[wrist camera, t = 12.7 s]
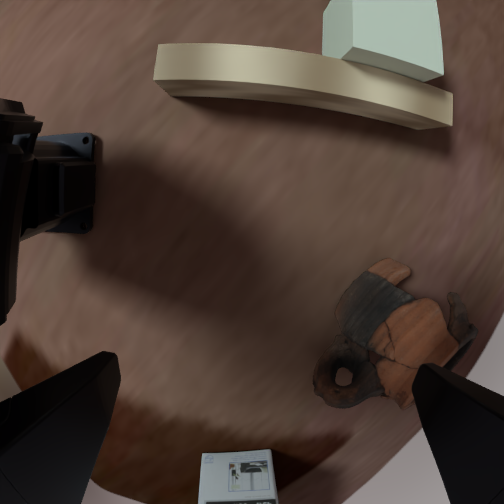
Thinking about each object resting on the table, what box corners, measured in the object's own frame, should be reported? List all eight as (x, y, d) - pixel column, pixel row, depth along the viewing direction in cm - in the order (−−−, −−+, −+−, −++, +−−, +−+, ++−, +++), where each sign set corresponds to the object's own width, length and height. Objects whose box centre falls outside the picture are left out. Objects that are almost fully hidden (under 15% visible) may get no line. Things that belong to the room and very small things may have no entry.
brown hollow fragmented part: (415, 225, 20) (503, 294, 14) (403, 303, 26) (463, 362, 20) (271, 318, 18) (354, 432, 12) (295, 378, 24) (350, 456, 18)
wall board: (170, 96, 17) (153, 79, 13) (174, 66, 16) (158, 44, 12) (417, 130, 18) (452, 126, 14) (418, 102, 17) (452, 93, 13)
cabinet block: (320, 78, 17) (352, 46, 11) (323, 11, 15) (350, -34, 10) (392, 94, 17) (443, 74, 11) (391, 29, 16) (435, -4, 10)
